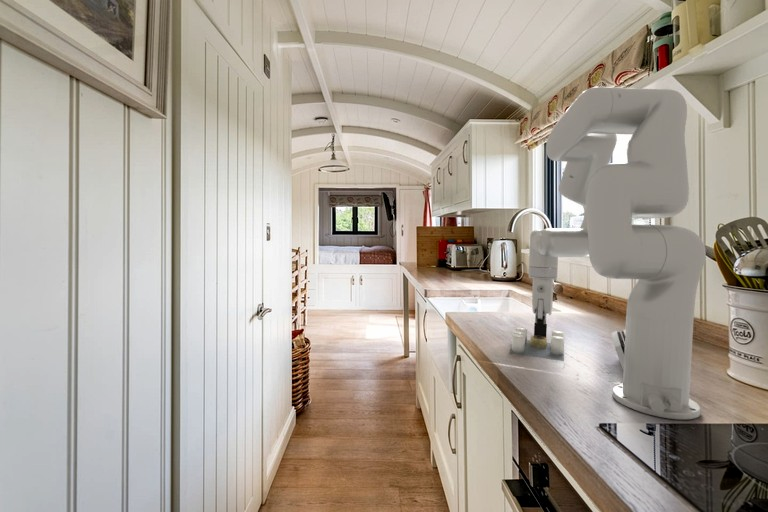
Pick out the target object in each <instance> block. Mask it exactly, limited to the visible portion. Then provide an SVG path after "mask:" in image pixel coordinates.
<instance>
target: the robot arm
mask: <svg viewBox="0 0 768 512" xmlns="http://www.w3.org/2000/svg"><path fill="white" fill-rule="evenodd" d="M687 118H688V106H687V101H686V98H685V97H684V96H683V94H682V93H680V92H679V91H678V90H674V89H668V88H667V89H666V88H659V89H658V88H637V87H616V86H593V87H589V88H588V89H585V90H584V91H582V93H580V94H579V95H578V96H577V97H576V98H575V100H574V101H573V102H572V103H571V104H570V106H569V107H568V108H567V109H566V110H565V112H564V113H563V114H562V115H561V116H560V118H559V119H558V120H557V122H556V123H555V124H554V126H553V127H552V129H551V131H550V133H549V135H548V138H547V142H546V146H545V151H546V155H547V158H548V159H550V160H551V161H554V162H566V163H565V167H564V170H563V173H562V176H561V179H560V182H559V185H558V193H560V195H562V197H564V198H566V199H567V200H569V201H571V202H574V203H576V204H578V205H580V206H582V208H583V212H584V216H583V219H582V222H581V225H580V227H579V228H567V227H566V228H565V227H564V228H561V227H560V228H559V227H558V228H557V227H555V228H553V227H548V228H543V229H535V230H533V231H531V233H530V235H529V256H528V259H529V260H528V278H529V279H532V288H531V289H532V290H531V291H532V293H531V294H532V295H531V298H532V299H531V300H532V303H531V304H532V305H531V306H532V313H533V314H535V319H534V320H535V321H534V327H533V336H543V337H547V333H548V331H547V329H548V326H547V325H548V324H547V314H548V316H551V315H552V313H553V302H554V300H553V299H554V297H553V296H554V281H555V280H558V269H559V268H558V266H559V265H558V264H559V258H583V257H586V256H589V260H590V264H591V267H592V268H593V270H594V271H595V273H597V274H598V275H600V276H601V277H603V278H606V279H607V278H608V279H611V280H612V279H614V280H637V282H636V284H635V285H634V286H633V288H632V290H631V292H630V293H629V296H628V299H627V303H626V313H625V314H626V316H625V330H626V331H625V342H624V344H625V351H624V371H623V370H622V372H623V375H622V384H617V385H615V386H614V387H612V391H611V393H612V394H611V395H612V396H613V399H614V400H616V402H618V403H620V404H621V405H623V406H625V407H626V408H627V407H628V408H629V409H632V410H634V411H637V412H640V413H643V414H646V415H651V416H655V417H658V418H664V419H665V418H666V419H671V420H684V421H685V420H686V421H687V420H693V419H697V418H699V417H700V416H701V405H699V404H698V403H697V402H696V401H694V400H693V399H691V398H690V388H691V370H692V369H691V368H692V353H693V335H694V321H695V320H694V319H695V309H696V308H695V305H696V297H697V290H698V286H699V282H700V278H701V275H702V272H703V269H704V265H705V262H706V246H705V243H704V240H703V239H702V238H701V237H700V236H699V235H698V234H697V233H696V232H694V231H692V230H691V229H688V228H686V227H682V226H678V225H671V224H667V225H666V224H632V221H633V220H632V219H665V218H670V217H675V216H677V215H680V213H682V212H683V211H684V210H685V209H686V207H687V205H688V202H689V193H690V192H689V190H690V189H689V177H688V176H689V174H688V161H687V150H686V149H687V148H686V142H685V141H686V139H685V138H686V136H685V133H686V124H687ZM617 135H631V136H630V138H629V141H628V144H627V148H626V156H627V162H612V163H610V161H611V159H612V155H613V153H614V151H615V147H616V145H617V141H618V137H617Z"/></svg>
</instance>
